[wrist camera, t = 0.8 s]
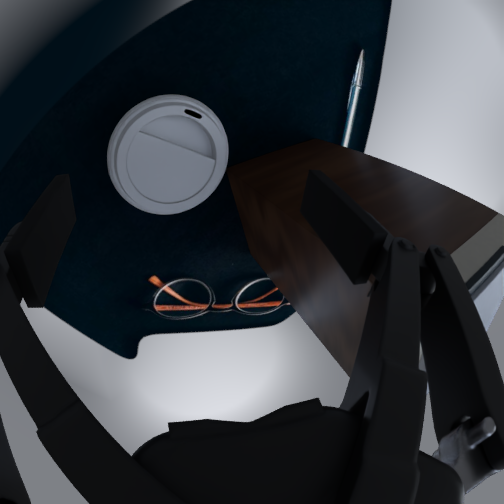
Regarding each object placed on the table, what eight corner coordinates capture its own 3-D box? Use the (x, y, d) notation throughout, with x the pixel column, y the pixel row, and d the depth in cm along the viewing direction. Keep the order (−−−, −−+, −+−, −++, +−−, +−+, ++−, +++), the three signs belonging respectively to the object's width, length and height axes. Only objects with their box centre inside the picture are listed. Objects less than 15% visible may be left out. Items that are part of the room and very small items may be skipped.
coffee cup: (210, 135, 34) (261, 158, 22) (155, 191, 35) (173, 246, 23) (157, 82, 28) (176, 66, 16) (99, 142, 29) (78, 169, 17)
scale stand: (225, 168, 37) (389, 298, 14) (316, 138, 39) (498, 212, 17) (250, 254, 45) (369, 402, 22) (327, 220, 47) (463, 324, 25)
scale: (389, 298, 14) (430, 334, 12) (498, 212, 17) (528, 229, 15) (369, 402, 22) (389, 426, 20) (463, 324, 25) (482, 340, 23)
